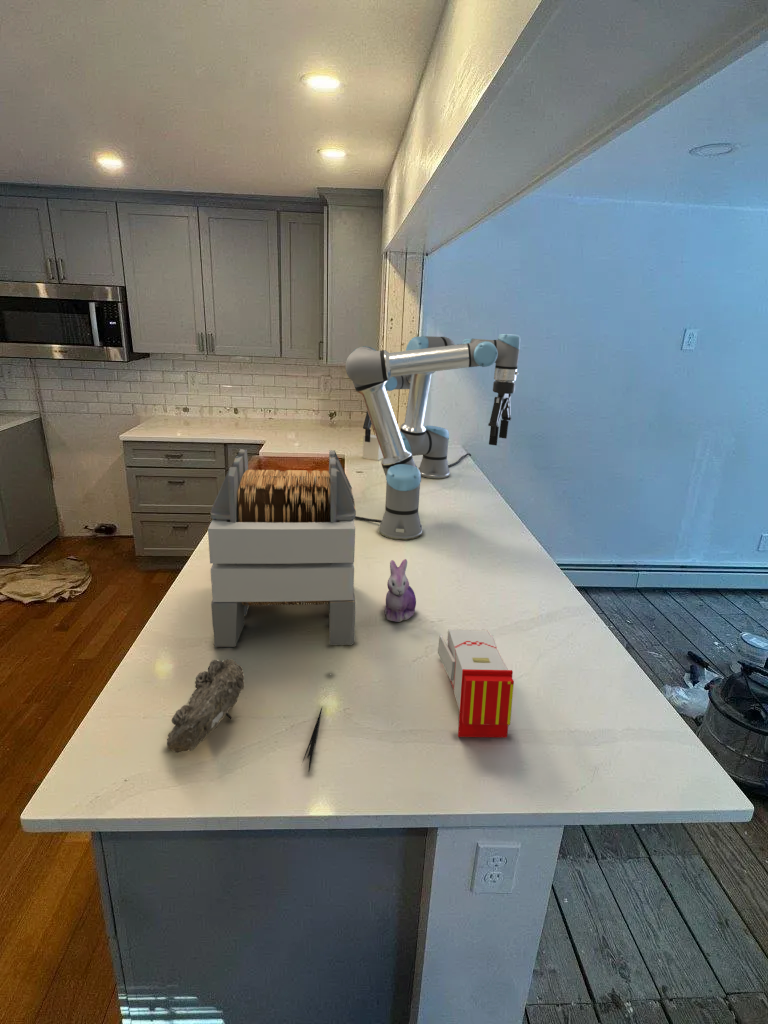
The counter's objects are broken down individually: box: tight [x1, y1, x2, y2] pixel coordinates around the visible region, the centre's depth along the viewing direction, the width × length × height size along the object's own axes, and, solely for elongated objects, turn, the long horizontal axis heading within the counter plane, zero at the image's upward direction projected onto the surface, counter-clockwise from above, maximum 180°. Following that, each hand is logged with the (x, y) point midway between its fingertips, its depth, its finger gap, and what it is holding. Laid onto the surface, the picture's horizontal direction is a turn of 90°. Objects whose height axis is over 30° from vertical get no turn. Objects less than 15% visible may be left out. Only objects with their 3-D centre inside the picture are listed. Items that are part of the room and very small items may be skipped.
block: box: [362, 434, 383, 461], centre depth 297 cm, size 9×6×12 cm, turn 64°
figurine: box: [384, 558, 417, 623], centre depth 145 cm, size 9×10×15 cm
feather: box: [301, 673, 332, 771], centre depth 108 cm, size 2×28×2 cm
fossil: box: [166, 658, 245, 754], centre depth 106 cm, size 22×10×15 cm
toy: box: [437, 628, 515, 738], centre depth 117 cm, size 12×13×30 cm
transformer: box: [207, 448, 357, 649], centre depth 139 cm, size 34×33×41 cm
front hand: (497, 441), depth 203 cm, fingers open, 13 cm apart
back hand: (373, 439), depth 296 cm, fingers open, 13 cm apart
